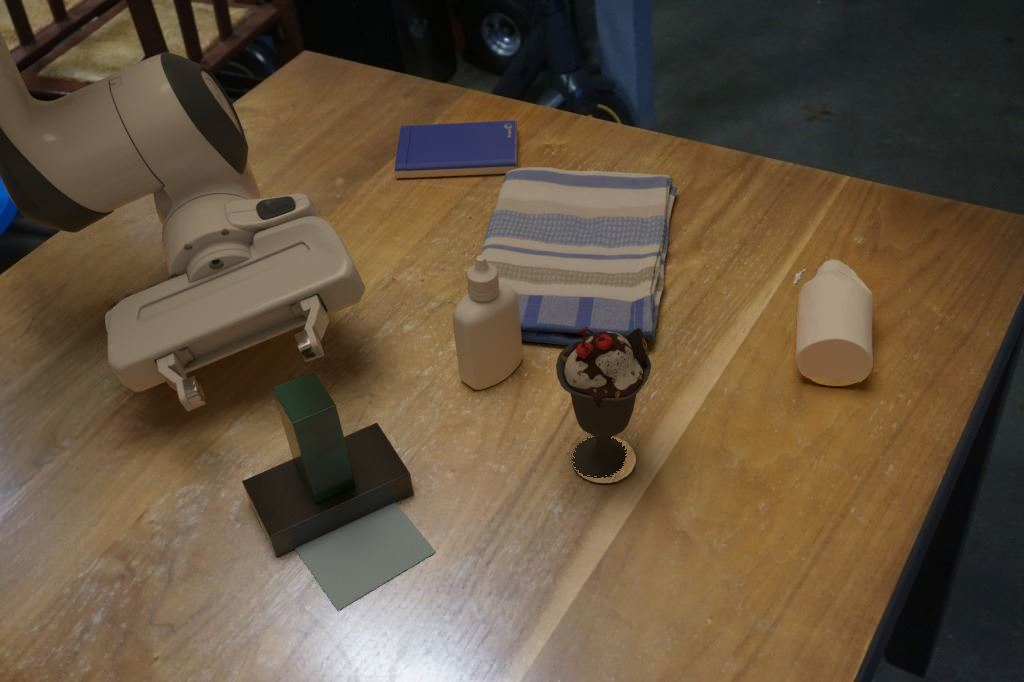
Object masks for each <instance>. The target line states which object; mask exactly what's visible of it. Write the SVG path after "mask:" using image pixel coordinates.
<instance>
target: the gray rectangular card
mask: <svg viewBox="0 0 1024 682" xmlns="http://www.w3.org/2000/svg"><path fill="white" fill-rule="evenodd" d="M294 550H295V551H296V553H297V555H298V556H299V557H300V559H301V560H302V561H303V563H304V565H305V566H306V567H307V569H308V571H309V572H310V573H311V575H312V576H313V577H314V579H315V580H316V582H317V583H318V585H319V587H321V589H322V591H323V592H324V593H325V595H326V597H327V598H328V599H329V601H330V602H331V603H332V605H333V607H334V608H335V609H336V611H337V612H339V611H340V610H342V609H344V608H345V607H347V606H349V605H351V604H353V603H354V602H356V601H357V600H359V599H361V598H362V597H364V596H366V595H367V594H369V593H371V592H373V591H374V590H375V589H377V588H379V587H380V586H382V585H384V584H386V583H387V582H390V581H391V580H393V579H394V578H396V577H397V576H400V574H402V573H404V572H406V571H407V570H409V569H411V568H412V567H414V566H415V565H417V564H419V563H421V562H422V561H424V560H426V559H427V558H429V557H431V556H433V555H434V554H436V550H435V549H434V548H433V546H432V545H431V544H430V543H429V541H428V540H427V539H426V538H425V537H424V535H423V534H422V532H420V530H419V529H418V528H417V526H415V524H414V523H413V522H412V521H411V520H410V518H409V517H408V515H406V513H405V512H404V511H403V510H402V508H401V507H400V505H399V504H397V501H396V502H394V503H392V504H390V505H388V506H385V507H383V508H381V509H379V510H377V511H375V512H372V513H370V514H368V515H366V516H364V517H362V518H360V519H357V520H355V521H353V522H351V523H349V524H347V525H344V526H342V527H340V528H338V529H336V530H334V531H331V532H329V533H327V534H325V535H323V536H321V537H318V538H316V539H314V540H312V541H310V542H308V543H306V544H303V545H301V546H299V547H297V548H295V549H294Z"/></svg>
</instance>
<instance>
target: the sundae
mask: <svg viewBox="0 0 1024 682" xmlns="http://www.w3.org/2000/svg"><path fill="white" fill-rule="evenodd" d="M586 331H589V332H591V333H592V334H594V335H593V336H589V337H586V333H585V332H586ZM577 332H578V333H579V334H584V337H583V339H582V340H579V341H577V342H575V343H573V344H570V345H566V346H565V347H564V348H563V349H562V350H561V351H560V352H559V355H558V356H557V360H556V364H555V369H556V376H557V380H558V382H559V384H560V387H561V388H562V389H563V390H564V391H565V392H567V393H568V394H570V398H571V402H572V407H573V412H574V413H573V414H574V415H575V418H576V421H577V424H578V426H579V427H580V428H581V430H582V431H584V432H585V433H587V434H589V435H590V436H593V435H594V437H592V438H591V437H590V436H589V437H590V438H588V437H586V438H587V440H585V441H582V440H581V441H582V443H580V442H578V444H579V445H578V444H576V445H575V447H574V448H575V451H576V452H575V451H574V453H573V452H572V453H573V456H574V457H575V458H574V457H572V458H573V459H572V461H573V462H575V463H573V462H571V464H572V463H573V466H574V467H576V468H575V469H576V470H579V473H582V474H583V476H587V475H590V476H587V477H593V478H601V477H604V478H606V477H612V476H610V475H614V474H613V473H617V472H616V471H620V470H619V469H621V468H622V466H624V465H623V464H624V463H623V462H624V461H625V458H626V457H627V456H625V455H626V454H627V453H625V452H626V451H627V449H626V450H624V449H625V446H623V447H622V442H621V443H620V442H618V441H617V440H616V439H614V438H612V439H611V437H612V436H617V435H619V434H621V433H622V432H624V431H625V430H626V428H627V427H628V426H629V424H630V421H631V418H632V416H633V412H634V408H635V405H636V404H635V403H636V400H637V394H639V392H640V391H641V390H642V388H643V387H644V386H645V384H646V383H647V382H648V380H649V377H650V374H651V370H652V363H651V360H650V359H651V358H650V356H649V349H648V344H647V345H646V342H645V339H644V337H643V334H642V330H641V329H640V328H637V329H635V330H634V331H633V332H631V333H630V334H629V335H627V336H626V337H623V336H622V335H620V334H618V333H616V332H610V331H603V332H599V333H597V334H596V333H594V332H593V331H591V330H589V329H587V326H586V327H585V328H583V329H580V330H577ZM576 447H577V448H576ZM625 463H626V462H625ZM573 466H572V467H573ZM577 472H578V471H577ZM605 475H607V476H605ZM594 476H597V477H594Z"/></svg>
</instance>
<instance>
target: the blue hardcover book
mask: <svg viewBox="0 0 1024 682" xmlns="http://www.w3.org/2000/svg"><path fill="white" fill-rule="evenodd" d="M517 168H518V120H516V119H515V120H493V121H490V120H489V121H476V122H475V121H473V122H453V123H452V122H450V123H432V124H430V123H429V124H414V125H413V124H412V125H401V126H400V130H399V136H398V142H397V149H396V155H395V162H394V174H395V178H396V179H405V178H406V179H410V178H411V179H412V178H414V179H415V178H434V177H435V178H436V177H437V178H438V177H455V176H456V177H457V176H458V177H459V176H479V175H503V174H505V175H506V173H507V172H509V171H511V170H513V169H517Z"/></svg>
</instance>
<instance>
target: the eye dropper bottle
mask: <svg viewBox="0 0 1024 682" xmlns="http://www.w3.org/2000/svg"><path fill="white" fill-rule="evenodd" d="M466 281H467V291H468V292H466V293H465V295H463V297H462V298H461V299H460V301H459V302H458V303H457V305H456V307H455V309H454V310H453V313H452V324H453V325H452V326H453V334H454V341H455V350H456V358H457V365H458V373H459V379H461V381H462V382H464V383H465V384H466V385H467V386H469V387H470V388H471V389H473V390H479V391H481V390H485V389H488V388H490V387H492V386H495V385H497V384H499V383H501V382H503V381H504V380H506V379H507V378H508V377H510V376H511V375H512V374H513V373H514V372H515V371H516V369H518V367H519V366H520V364H521V363H522V361H523V355H524V354H523V341H522V338H521V325H520V312H519V302H518V295H517V293H516V291H515V290H514V289H513V288H512V287H510V286H509V285H507V284H506V283H503V282H499V279H498V270H497V268H496V267H495V266H494V265H492V264H489V263H487V261H486V258H485V256H483V255H481V254H480V255H477V256H476V257H475V263H474V264H473V265H471V266H470V267H468V269H467V271H466Z"/></svg>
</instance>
